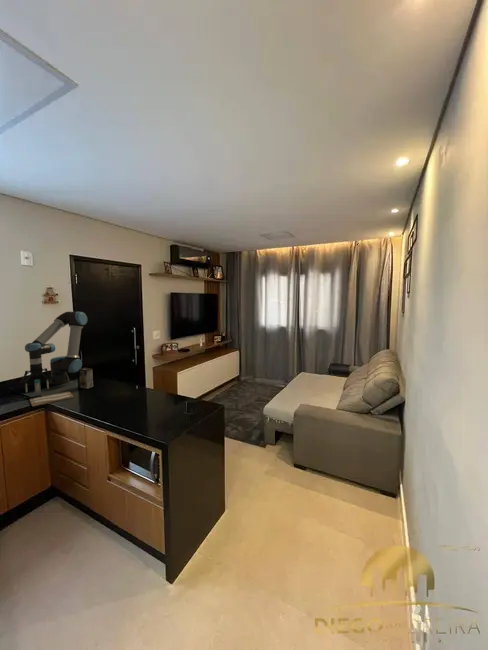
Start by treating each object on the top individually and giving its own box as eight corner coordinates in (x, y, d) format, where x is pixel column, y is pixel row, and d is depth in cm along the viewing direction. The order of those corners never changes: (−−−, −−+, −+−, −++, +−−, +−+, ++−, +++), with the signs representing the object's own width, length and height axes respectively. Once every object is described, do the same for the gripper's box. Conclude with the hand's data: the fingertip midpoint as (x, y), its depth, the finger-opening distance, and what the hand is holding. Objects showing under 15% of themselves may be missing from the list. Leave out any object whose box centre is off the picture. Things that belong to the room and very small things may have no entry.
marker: (35, 396, 223) (33, 380, 222) (40, 395, 226) (39, 379, 224) (35, 397, 221) (34, 381, 219) (41, 396, 223) (40, 380, 222)
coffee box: (79, 387, 245) (78, 369, 243) (86, 385, 251) (85, 367, 249) (87, 388, 241) (86, 370, 239) (93, 386, 247) (92, 368, 245)
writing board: (29, 400, 215) (29, 398, 215) (69, 392, 232) (69, 391, 232) (32, 406, 203) (32, 405, 203) (73, 398, 220) (73, 396, 220)
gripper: (15, 366, 209) (17, 394, 211) (55, 361, 226) (57, 387, 228) (14, 364, 215) (16, 392, 217) (54, 360, 231) (55, 385, 233)
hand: (37, 390), depth 222 cm, fingers open, 13 cm apart
